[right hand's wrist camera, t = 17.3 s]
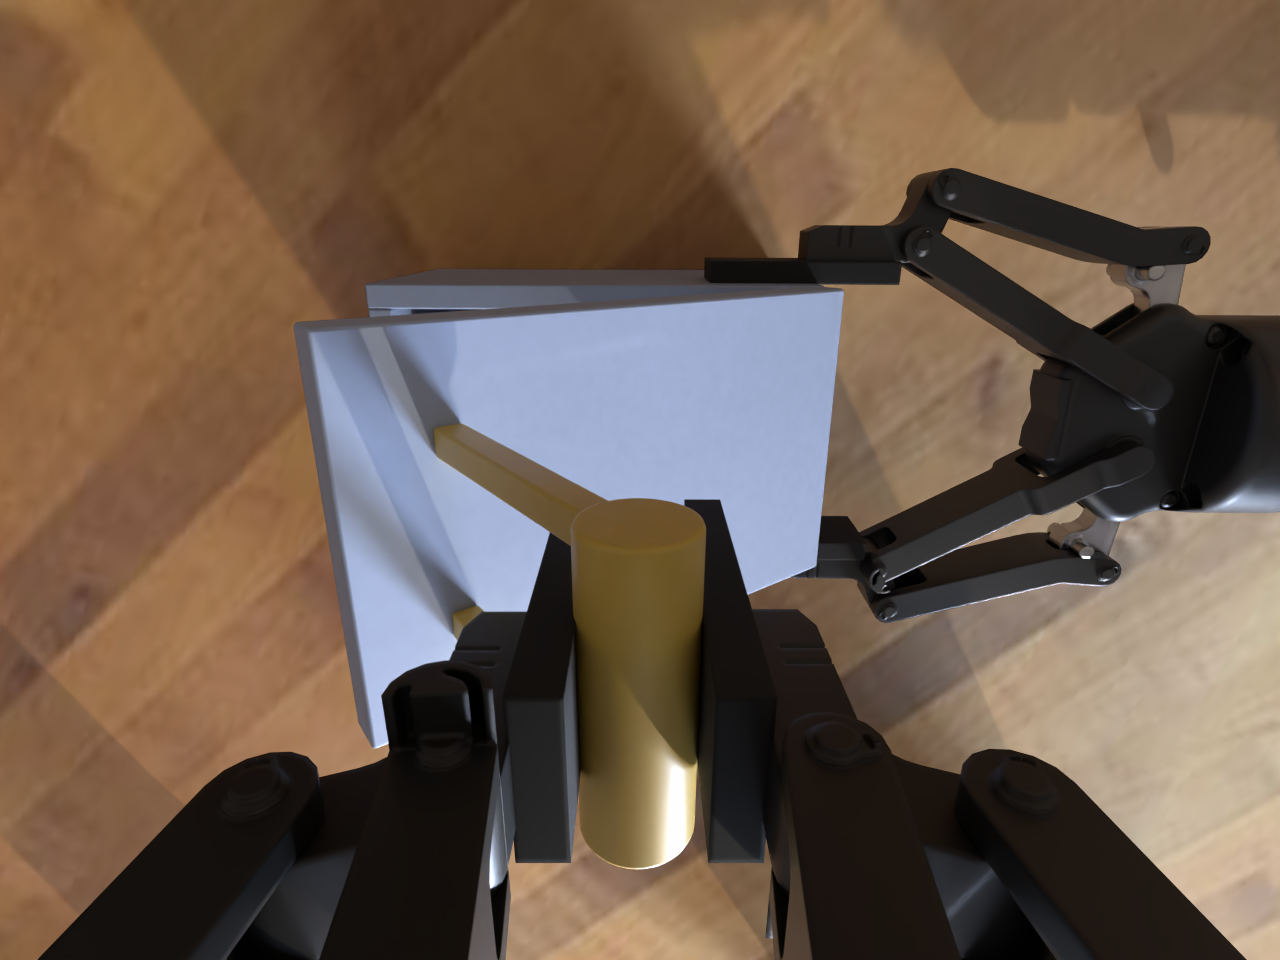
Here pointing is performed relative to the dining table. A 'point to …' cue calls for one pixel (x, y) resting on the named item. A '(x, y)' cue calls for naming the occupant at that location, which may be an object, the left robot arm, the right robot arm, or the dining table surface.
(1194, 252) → the left robot arm
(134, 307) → the dining table surface
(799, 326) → the lid
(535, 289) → the chest
